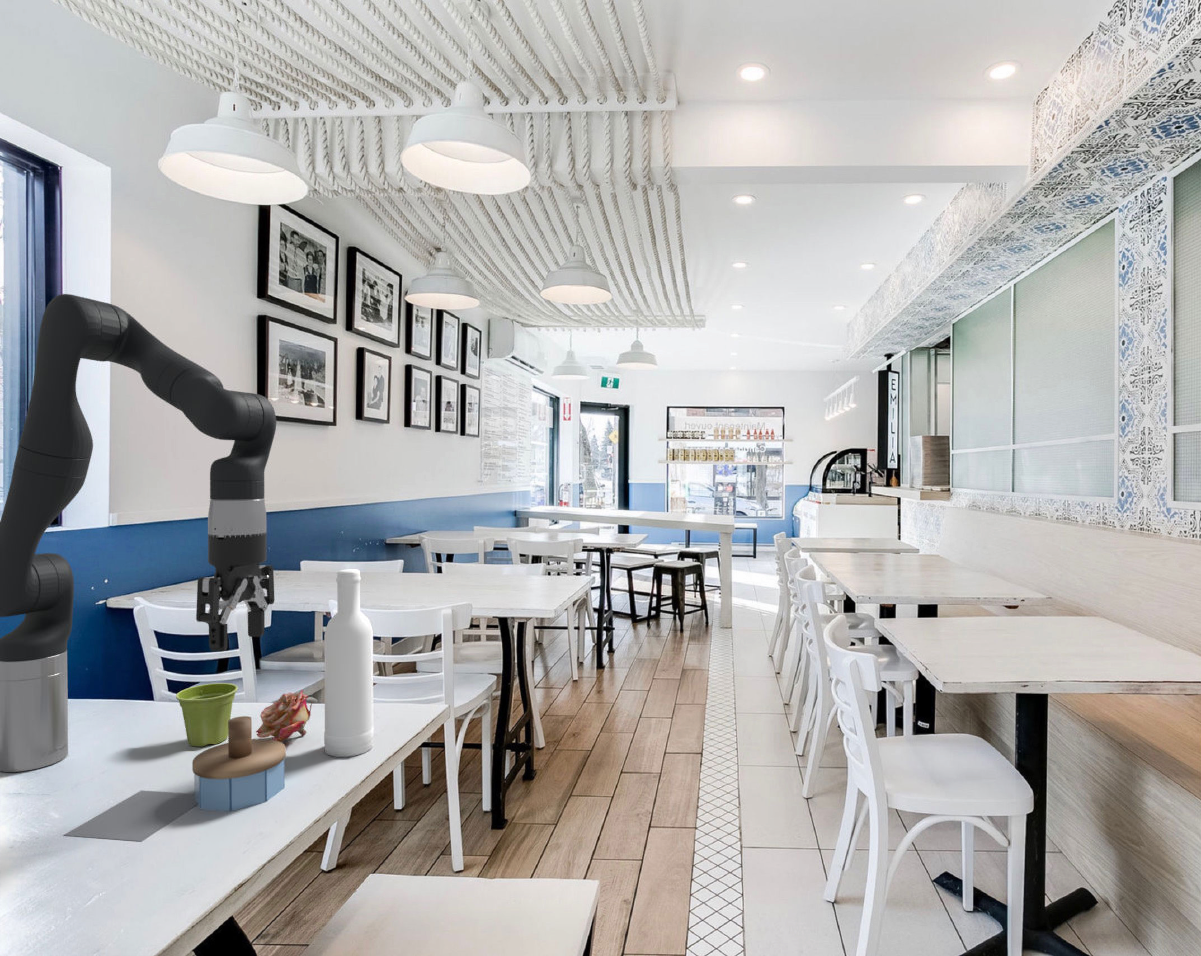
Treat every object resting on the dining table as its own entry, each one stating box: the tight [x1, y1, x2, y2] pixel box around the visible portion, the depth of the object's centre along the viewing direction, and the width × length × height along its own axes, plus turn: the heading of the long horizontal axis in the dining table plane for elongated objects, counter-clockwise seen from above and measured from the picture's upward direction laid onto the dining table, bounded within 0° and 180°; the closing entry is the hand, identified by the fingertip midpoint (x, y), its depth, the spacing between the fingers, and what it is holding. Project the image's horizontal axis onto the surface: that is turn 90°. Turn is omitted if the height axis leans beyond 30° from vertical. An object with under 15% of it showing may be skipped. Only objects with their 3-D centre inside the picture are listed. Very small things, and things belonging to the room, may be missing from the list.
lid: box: [191, 715, 287, 779], centre depth 105 cm, size 12×12×6 cm
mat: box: [63, 790, 198, 843], centre depth 98 cm, size 11×13×1 cm
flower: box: [255, 689, 313, 743], centre depth 127 cm, size 10×9×8 cm
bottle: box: [323, 568, 375, 758], centre depth 123 cm, size 8×8×30 cm
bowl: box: [193, 759, 286, 812], centre depth 105 cm, size 11×11×5 cm
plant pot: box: [175, 682, 239, 748], centre depth 126 cm, size 9×9×9 cm
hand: (238, 643), depth 105 cm, fingers open, 8 cm apart
